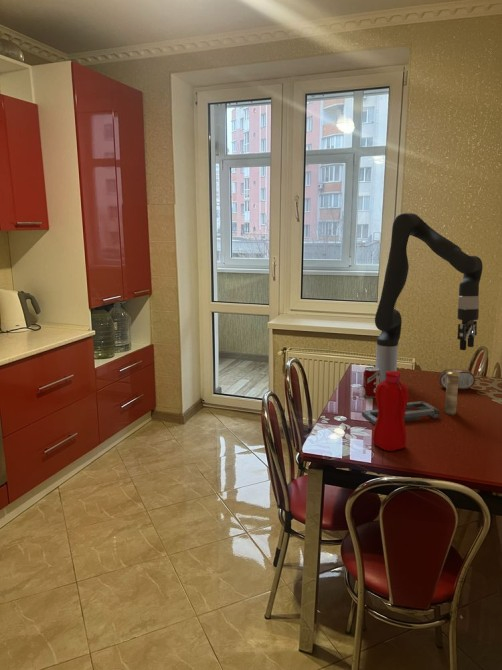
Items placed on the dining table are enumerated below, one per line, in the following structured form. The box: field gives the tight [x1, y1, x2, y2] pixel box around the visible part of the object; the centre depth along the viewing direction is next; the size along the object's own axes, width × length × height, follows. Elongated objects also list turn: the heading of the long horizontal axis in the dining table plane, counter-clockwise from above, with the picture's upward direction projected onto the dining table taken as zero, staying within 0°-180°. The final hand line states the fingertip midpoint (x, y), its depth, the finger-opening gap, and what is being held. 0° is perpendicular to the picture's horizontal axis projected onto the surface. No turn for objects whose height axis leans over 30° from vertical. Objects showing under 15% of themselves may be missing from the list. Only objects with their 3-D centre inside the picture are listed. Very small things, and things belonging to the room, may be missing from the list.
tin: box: [437, 368, 476, 390], centre depth 208 cm, size 15×3×8 cm, turn 84°
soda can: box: [362, 366, 380, 399], centre depth 200 cm, size 7×7×12 cm
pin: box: [444, 371, 460, 416], centre depth 180 cm, size 5×5×16 cm
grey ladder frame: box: [361, 400, 440, 426], centre depth 179 cm, size 26×10×3 cm, turn 103°
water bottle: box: [372, 371, 410, 452], centre depth 152 cm, size 9×11×25 cm
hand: (466, 348), depth 189 cm, fingers open, 8 cm apart
